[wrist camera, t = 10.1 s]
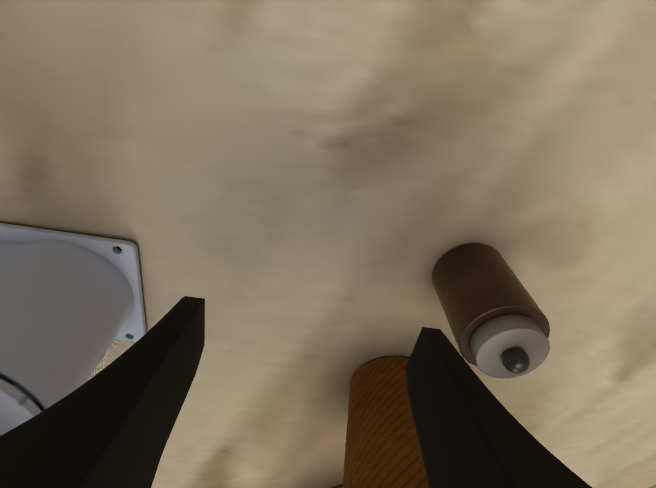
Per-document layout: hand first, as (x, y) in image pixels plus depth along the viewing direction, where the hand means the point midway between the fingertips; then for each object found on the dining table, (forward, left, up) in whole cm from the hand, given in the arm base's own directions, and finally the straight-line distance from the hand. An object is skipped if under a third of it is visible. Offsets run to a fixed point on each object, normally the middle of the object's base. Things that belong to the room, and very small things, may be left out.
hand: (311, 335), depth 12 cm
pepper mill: (+10, -3, -10) cm, 14 cm away
